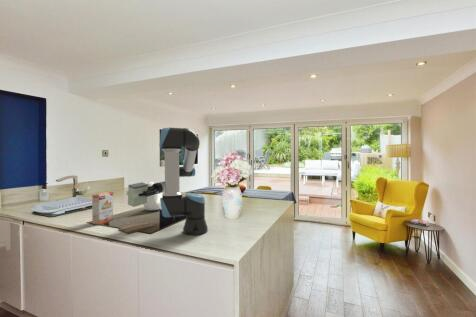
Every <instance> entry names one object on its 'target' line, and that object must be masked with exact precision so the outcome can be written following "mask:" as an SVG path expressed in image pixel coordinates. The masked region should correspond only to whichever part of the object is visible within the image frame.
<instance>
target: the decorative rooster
mask: <svg viewBox="0 0 476 317" xmlns="http://www.w3.org/2000/svg"><path fill="white" fill-rule="evenodd" d="M154 183H155V182H154V181H149V182H148V183H147V184H148V187H149V186H152V185H153V184H154ZM163 194H164V192H163V193H159V194H155V195H151V196H148V197H147V203H146V204H143V208H144V209H145V210H146V211H157V210H162V209H161V202H160V198H163V197H162V195H163Z"/></svg>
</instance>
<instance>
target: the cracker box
mask: <svg viewBox="0 0 476 317" xmlns="http://www.w3.org/2000/svg"><path fill="white" fill-rule="evenodd" d="M91 196H92V197H91V198H92V200H91V201H92V203H91V204H92V206H91V208H92V209H91V210H92V213H91V214H92V219H91V220H92V222H91V223H92V225H97V226H98V225H99V226H100V225H102V224H105V223H108V222H110V221H113V220H114V192H113V191H104V192H100V193H93V194H91Z"/></svg>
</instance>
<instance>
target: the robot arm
mask: <svg viewBox="0 0 476 317" xmlns="http://www.w3.org/2000/svg"><path fill="white" fill-rule="evenodd" d="M160 131H161V132H160V136H159V137H160V138H159V139H160V140H159V145H158V146H159V147H160V148H161V150H162V151H163V153H164V181H160V182H154V184H153V185H152V186H149V187H148V191H143V192H139V193H134V194H133V198H137V197H141V196H146V197H148V196H151V195H155V194H159V193H163V195H162V197H163V198H160V202H161V209H160V210H161V214H162V217H163V218H172V217H173V218H174V217H185V220H184V221H185V222H184V226H183V228H182V229H183V230H182V233H183V234H185V235H187V236H199V235H203V234H204V235H205V234H206V233H207V232H208V231H209V230H208V225H207V222H206V218H205V217H206V216H205V212H206V210H205V208H206V207H205V205H206V200H205V196H204V195H203V194H197V193H186V194H185V196H183V193H182V192H181V190H180V177H181V178H185V177H188V178H190V177H195V176H196V167H195V166H194V165H195V160H196V156H197V151H198V150H199V149H200V144H201V143H200V138H199V136H198V135H197V133H196V132H195V131H193V130H192V129H191V128H187V127H185V128H184V127H183V128H181V127H162V129H161V130H160ZM182 148H185V150H184V157H183V164H182V166H180V153H181V151H182ZM125 194H126V196H128V190H126V193H125Z"/></svg>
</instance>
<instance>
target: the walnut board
mask: <svg viewBox="0 0 476 317" xmlns="http://www.w3.org/2000/svg"><path fill="white" fill-rule="evenodd" d="M152 228H156V225H155V224H154V223H150V222H146V221H142V222H138V223H133V224H129V225H125V226H121V227H119V228H118V231H120V232H123V233H126V234H128V235H130V234H134V233H137V232H142V231H145V230H148V229H152Z"/></svg>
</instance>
